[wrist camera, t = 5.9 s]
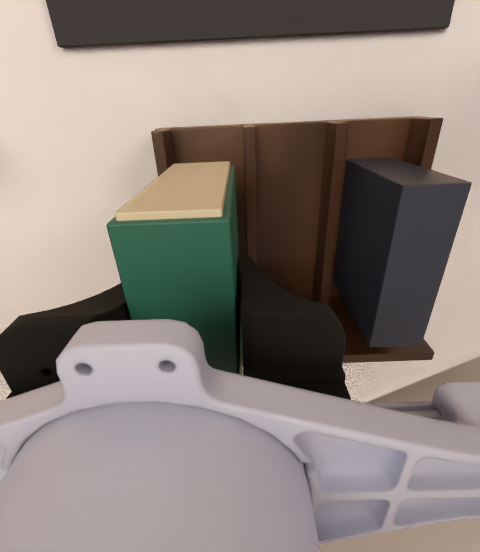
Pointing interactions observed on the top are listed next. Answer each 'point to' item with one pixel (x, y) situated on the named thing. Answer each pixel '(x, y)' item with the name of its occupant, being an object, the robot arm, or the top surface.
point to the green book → (185, 255)
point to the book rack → (302, 197)
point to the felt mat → (234, 19)
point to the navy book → (394, 245)
